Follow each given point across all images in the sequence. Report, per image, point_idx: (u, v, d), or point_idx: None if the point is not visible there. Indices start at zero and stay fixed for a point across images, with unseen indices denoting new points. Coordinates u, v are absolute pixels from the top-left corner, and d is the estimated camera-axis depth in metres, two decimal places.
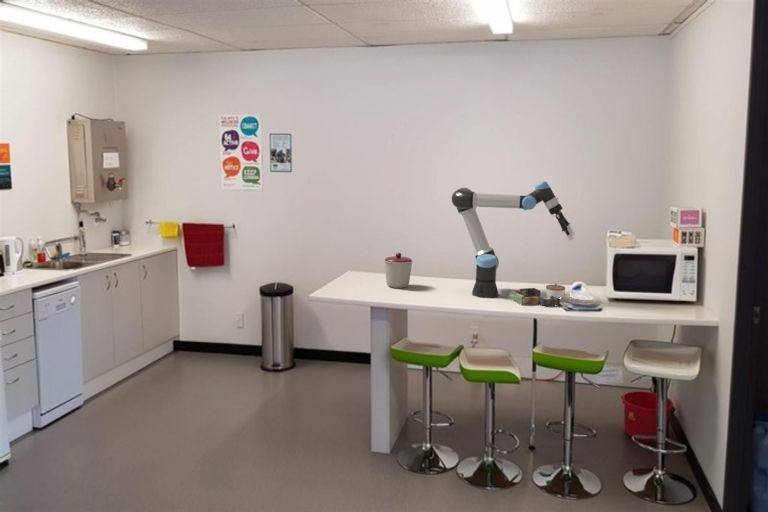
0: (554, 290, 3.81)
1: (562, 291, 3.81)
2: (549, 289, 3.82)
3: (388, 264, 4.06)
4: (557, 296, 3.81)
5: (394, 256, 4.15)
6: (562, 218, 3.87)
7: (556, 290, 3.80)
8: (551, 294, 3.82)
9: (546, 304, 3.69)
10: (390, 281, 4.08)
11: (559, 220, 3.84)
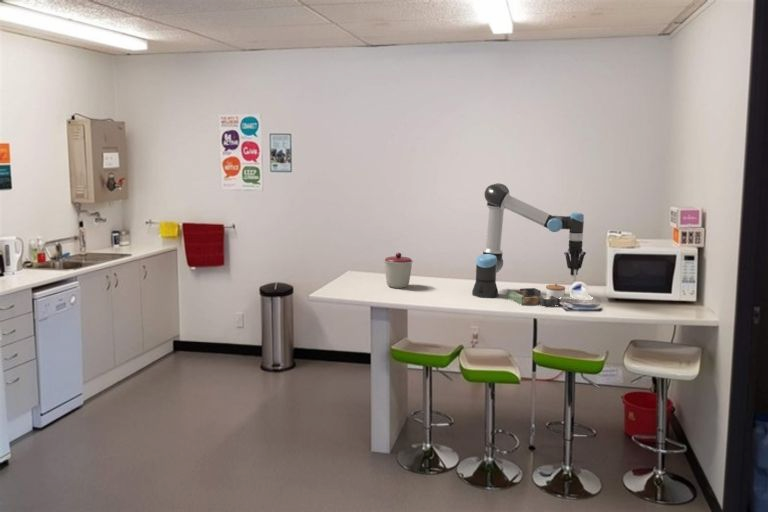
0: (554, 290, 3.81)
1: (562, 291, 3.81)
2: (549, 289, 3.82)
3: (388, 264, 4.06)
4: (557, 296, 3.81)
5: (394, 256, 4.15)
6: (573, 257, 3.84)
7: (556, 290, 3.80)
8: (551, 294, 3.82)
9: (546, 304, 3.69)
10: (390, 281, 4.08)
11: (566, 258, 3.85)
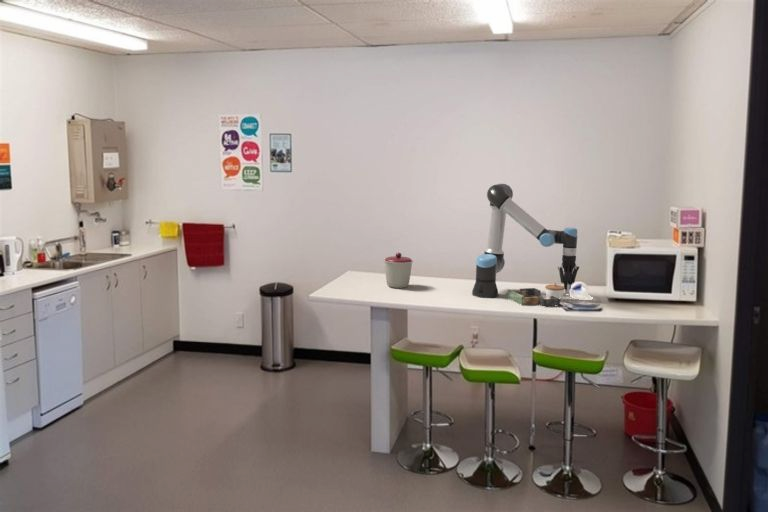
0: (553, 290, 3.80)
1: (561, 291, 3.81)
2: (548, 289, 3.82)
3: (388, 264, 4.06)
4: (557, 296, 3.81)
5: (394, 256, 4.15)
6: (566, 271, 3.84)
7: (555, 290, 3.80)
8: (551, 294, 3.82)
9: (546, 304, 3.69)
10: (390, 281, 4.08)
11: (560, 273, 3.85)
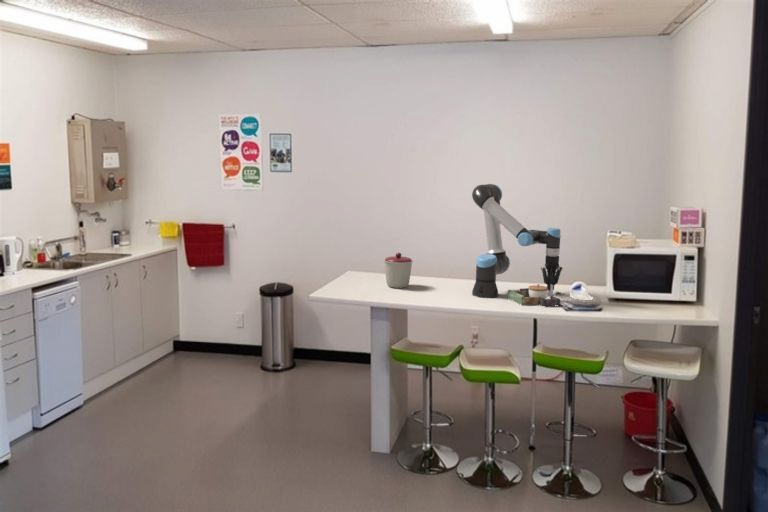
0: (536, 291, 3.78)
1: (544, 292, 3.78)
2: (531, 290, 3.79)
3: (388, 264, 4.06)
4: None
5: (394, 256, 4.15)
6: (549, 272, 3.81)
7: (538, 291, 3.77)
8: (533, 295, 3.79)
9: (546, 304, 3.69)
10: (390, 281, 4.08)
11: (543, 273, 3.82)
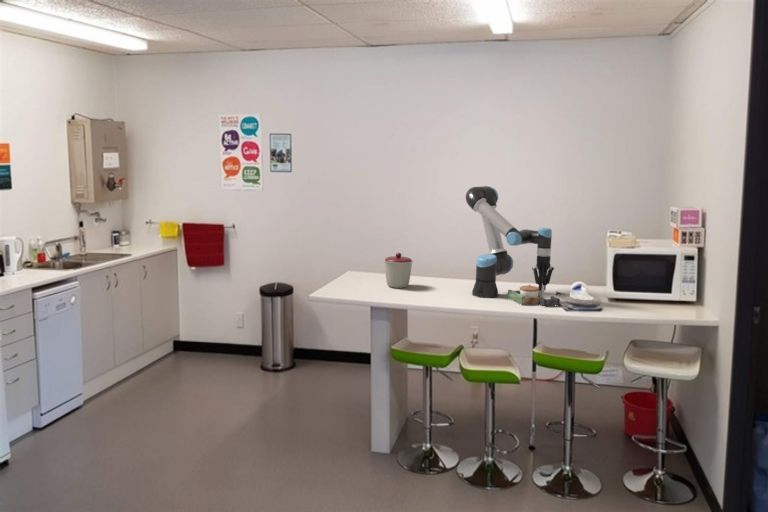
0: (527, 291, 3.76)
1: (536, 292, 3.77)
2: (523, 290, 3.78)
3: (388, 264, 4.06)
4: None
5: (394, 256, 4.15)
6: (541, 272, 3.80)
7: (529, 291, 3.76)
8: (525, 295, 3.77)
9: (546, 304, 3.69)
10: (390, 281, 4.08)
11: (534, 273, 3.81)
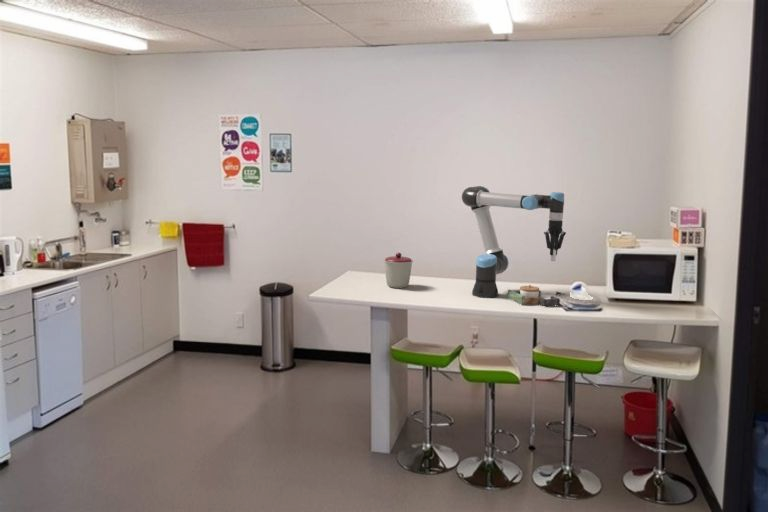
0: (528, 291, 3.76)
1: (536, 292, 3.77)
2: (523, 290, 3.78)
3: (388, 264, 4.06)
4: None
5: (394, 256, 4.15)
6: (552, 236, 3.79)
7: (530, 291, 3.76)
8: (525, 295, 3.77)
9: (546, 304, 3.69)
10: (390, 281, 4.08)
11: (546, 238, 3.80)
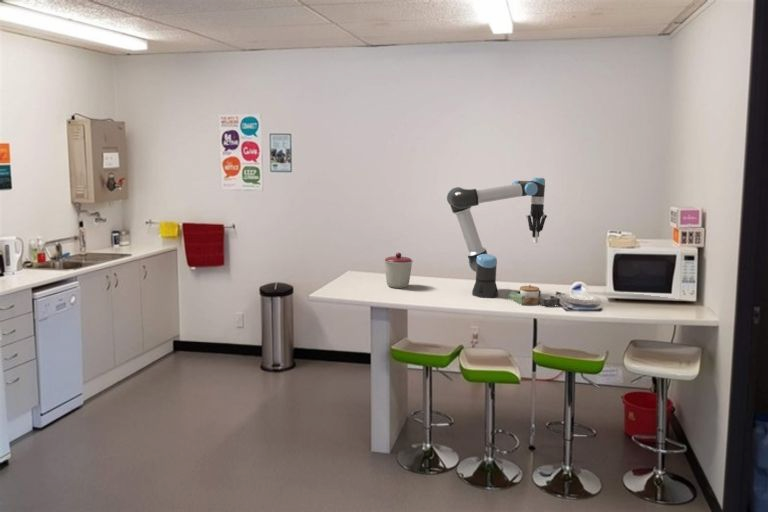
0: (528, 291, 3.76)
1: (536, 292, 3.77)
2: (523, 290, 3.78)
3: (388, 264, 4.06)
4: None
5: (394, 256, 4.15)
6: (534, 219, 4.03)
7: (530, 291, 3.76)
8: (525, 295, 3.77)
9: (546, 304, 3.69)
10: (390, 281, 4.08)
11: (528, 221, 4.04)
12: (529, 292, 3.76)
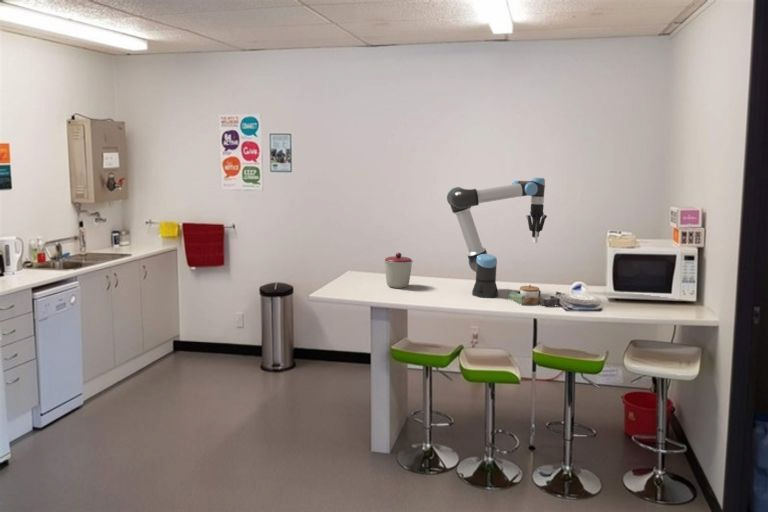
0: (528, 291, 3.76)
1: (536, 292, 3.77)
2: (523, 290, 3.78)
3: (388, 264, 4.06)
4: None
5: (394, 256, 4.15)
6: (534, 219, 4.03)
7: (530, 291, 3.76)
8: (525, 295, 3.77)
9: (546, 304, 3.69)
10: (390, 281, 4.08)
11: (528, 221, 4.04)
12: (529, 292, 3.76)
